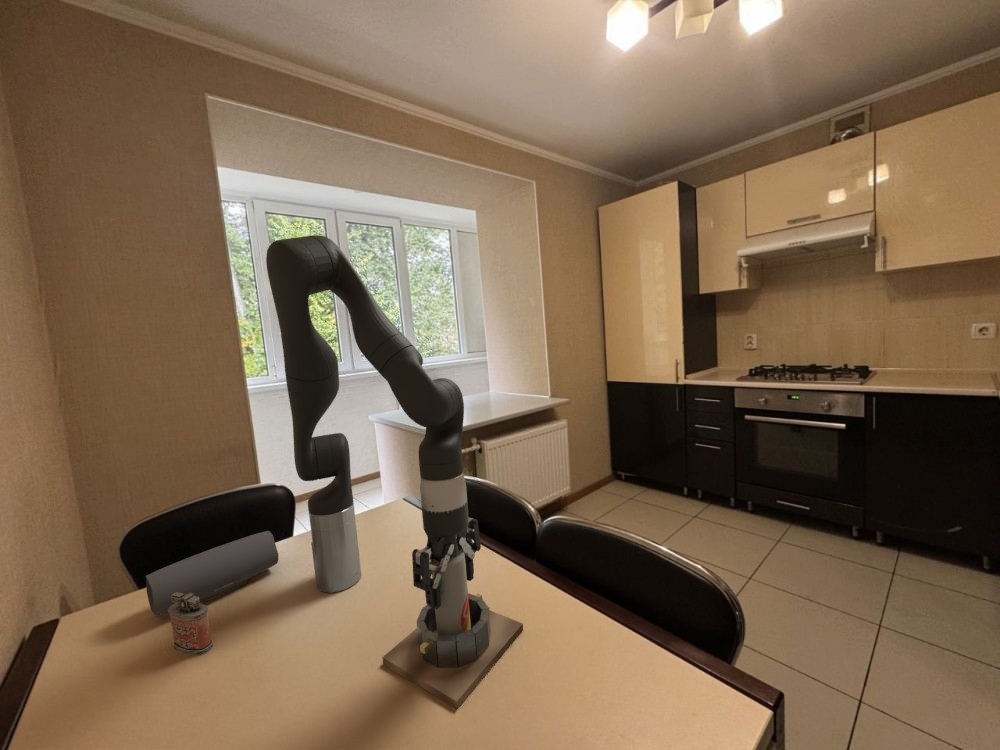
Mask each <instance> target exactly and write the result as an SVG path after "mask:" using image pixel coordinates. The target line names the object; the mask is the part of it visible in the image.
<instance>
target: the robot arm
mask: <svg viewBox="0 0 1000 750" xmlns="http://www.w3.org/2000/svg"><path fill="white" fill-rule="evenodd" d="M265 260H266V261H265V263H266V271H267V277H268V281H269V287H270V290H271V294H272V298H273V302H274V307H275V311H276V315H277V320H278V326H279V331H280V336H281V344H282V346H281V347H282V351H283V352H282V353H283V361H284V362H283V363H284V374H285V380H286V381H285V383H286V389H287V394H288V399H289V400H288V401H289V405H290V412H291V418H292V419H291V421H292V431H293V432H292V433H293V434H292V437H293V455H294V457H293V458H294V465H295V466H294V467H295V470H296V474H297V476H298V478H299V479H300V480H302V481H304V482H313V481H317V480H323V479H328V478H333V480H332V481H331V482H330V483H328V484H327V485H325V487H322V488H321V489H319V490H318V491H315V492H314V493H313V494H312V495H310V496H309V498H308V501H307V508H308V509H307V510H308V517H309V526H310V532H311V533H310V534H311V552H312V559H313V569H314V576H315V577H314V578H315V582H316V585H317V589H318V590H319V591H320V592H323V593H337V592H341V591H344V590H347V589H349V588H351V587H352V586H354V585H355V584H357V583H358V582H359V581H360V579H361V577H362V570H361V569H362V568H361V559H360V549H359V539H358V530H357V522H356V521H357V519H356V512H355V505H354V504H355V503H354V497H353V496H354V495H353V488H352V487H353V485H352V477H351V476H352V475H351V454H350V447H349V442H348V438H347V436H346V435H345V434H344V433H341V432H337V433H329V434H324V435H317V436H313V435H314V431H315V429H316V427H317V425H318V423H319V422H320V421H321V419H322V418H323V416H324V415H325V413H327V411H328V409H329V408H330V406H331V405H332V404H333V402H334V401H335V399H336V397H337V395H338V392H339V390H340V389H339V388H340V371H339V361H338V357H337V355H336V353H335V350H334V349H333V347H331V345H330V344H329V343H328V341H326V340H325V338H324V337H323V336H322V335H321V334H320V332H318V330H317V329H316V327H315V326H314V324H313V322H312V318H311V313H310V307H309V305H310V303H309V299H310V296H311V295H315V294H319V293H323V292H327V291H330V292H332V293H333V294H334V295H336V296H337V297H338V298H339V299H340V300H341V301H342V302H343V304H344V305H345V307H346V308H347V311H348V314H349V317H350V321H351V326H352V332H353V336H354V340H355V343H356V345H357V347H358V350H359V351H360V352H361V354H362V356H363V357H364V358H365V359H366V360H367V361H368V362H369V363H370V364H371V366H372V367H373V368H374V369H375V370H376V371H377V372H378V373H379V374H380V375H381V377H383V379H384V380H386V381H387V384H388V385H389V388H390V390H391V391H392V394H393V395H394V397H395V400H397V402H398V404H399V405H400V407H401V408H402V410H403V412H404V413H405V414H406V416H408V418H409V419H410V420H411V421H413V422H414V423H415V424H417V425H419V426H421V427H423V428H425V435H424V437H423V439H422V441H421V442H420V444H419V446H418V464H419V475H420V478H419V479H420V481H419V482H420V484H419V485H420V486H419V492H420V493H419V495H420V503H421V504H420V505H421V516H422V517H421V518H422V525H423V526H422V528H423V530H424V532H425V535H426V537H427V542H426V546H425V547H423V548H422V549H418V548H415V549H413V551H412V552H411V557H412V560H411V561H412V577H413V580H412V581H413V587H415V588H417V589H420V590H422V591H424V593H425V603H426V605H428V606H430V607H432V608H434V609H438V608H439V607H440V606H441V601H440V590H439V586H438V584H439V581H440V578H441V575H442V574H443V573H445V571H446V567H447V564H448V561H449V558H450V556H451V555H452V553H453V550H454V545H453V544H446V542H445V537H449V536H453V535H456V534H457V535H458V545H459V552H460V551H461V550H462V551H463V552H464V555H465V564H466V576H467V582H471V581H472V580H473V579H474V574H475V573H474V572H475V566H474V559H475V556H476V552H479V551H480V550H481V549H482V548H481V547H482V546H481V535H480V528H479V521H478V519H475V518H473V517H469V509H468V508H469V507H468V495H467V493H468V491H467V483H466V478H465V472H464V464H463V453H462V452H463V451H462V436H463V428H464V418H465V417H464V416H465V415H464V414H465V404H464V397H463V393H462V391H461V389H460V387H459V385H458V384H457V383H456V382H455V381H453V380H452V379H449V378H446V377H445V378H442V377H440V378H436V379H432V378H431V377H430V376H429V374H428V373H427V372H426V370H425V369H424V368H423V367H422V366H423V363H424V358H423V356H422V354H421V353H420V352H419V350H418V349H417V348H416V347H415V346H414V345H413V344H412V342H411V341H410V340H409V339H408V338H407V337H406V336H405V335H404V334H403V333H402V332H401V331H400V330H399V328H398V327H396V325H395V324H394V323H393V322H392V320H390V318H389V317H388V316H387V315H386V313H385V312H384V311H383V309H382V308H381V307H380V305H379V304H378V303H377V300H376V299H375V298H374V296H373V295H372V293H371V292H370V290H369V288H368V287H367V285H366V284H365V282H364V281H363V279H362V278H361V277H360V276H359V274H358V273H357V270H355V267H353V265H352V263H351V262H350V261H349V258H348V257H347V256H346V255H345V253H344V252H343V251H342V250H341V248H340V247H339V246H338V245H337V244H336V243H335V242H334V241H333V240H332V239H331V238H329V237H327V236H324V235H318V234H317V235H316V234H315V235H314V234H313V235H307V236H306V235H305V236H297V237H290V238H284V239H278V240H274V241H273V242H271V243H270V244H269V246H268V247H267V250H266V259H265ZM434 559H435V560H436V561H439V562H441V563H440V565H439V566H435V565H433V563H432V561H433V560H434ZM433 571H435V574H434V577H433V579H432V572H433Z"/></svg>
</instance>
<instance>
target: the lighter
mask: <svg viewBox="0 0 1000 750" xmlns="http://www.w3.org/2000/svg"><path fill="white" fill-rule="evenodd" d="M171 600H172V602H175V604H173V605H172V606H170V607H169V608H168V615H169V616H170V623H171V630H172V634H173V635H172V636H173V643H172V644H173V649H174V650H175V651H177V652H178V653H181V654H184V655H188V656H202V655H205V654H207V653H209V652H210V651H211V650H212V649H213V648H214V643H213V642H214V641H213V640H212V635H211V629H210V623H209V615H208V613H209V607H208V606H207V605H206V604H204V603H200V601H199V597H196V596H194V594H193V593H189V594H187V595H186V594H183V593H178V592H176V593H174V594H172V596H171Z"/></svg>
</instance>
